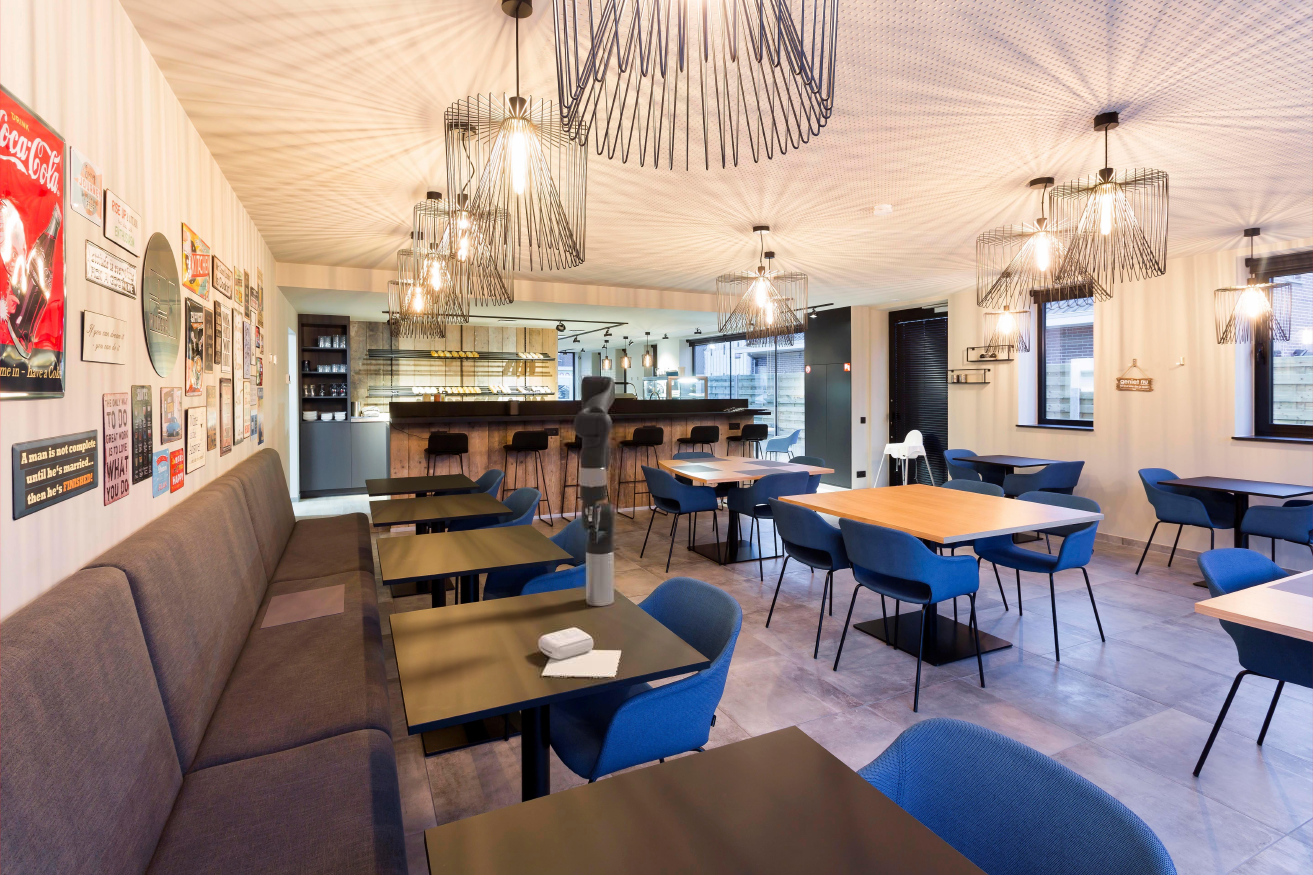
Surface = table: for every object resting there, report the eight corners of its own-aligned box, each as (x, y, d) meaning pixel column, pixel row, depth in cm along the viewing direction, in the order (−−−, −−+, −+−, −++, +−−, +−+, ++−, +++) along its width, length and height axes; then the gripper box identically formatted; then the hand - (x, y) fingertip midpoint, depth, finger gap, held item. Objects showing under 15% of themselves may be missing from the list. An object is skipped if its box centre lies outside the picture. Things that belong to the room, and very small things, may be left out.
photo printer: (574, 639, 176) (534, 651, 169) (574, 624, 176) (534, 635, 168) (594, 651, 168) (553, 664, 161) (594, 636, 168) (553, 647, 160)
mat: (554, 650, 170) (554, 649, 170) (621, 652, 169) (621, 650, 169) (541, 676, 154) (541, 674, 154) (615, 678, 153) (615, 676, 153)
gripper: (583, 480, 186) (583, 538, 187) (576, 486, 173) (576, 548, 174) (608, 480, 185) (608, 538, 187) (603, 486, 172) (603, 549, 173)
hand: (593, 543), depth 180 cm, fingers closed
